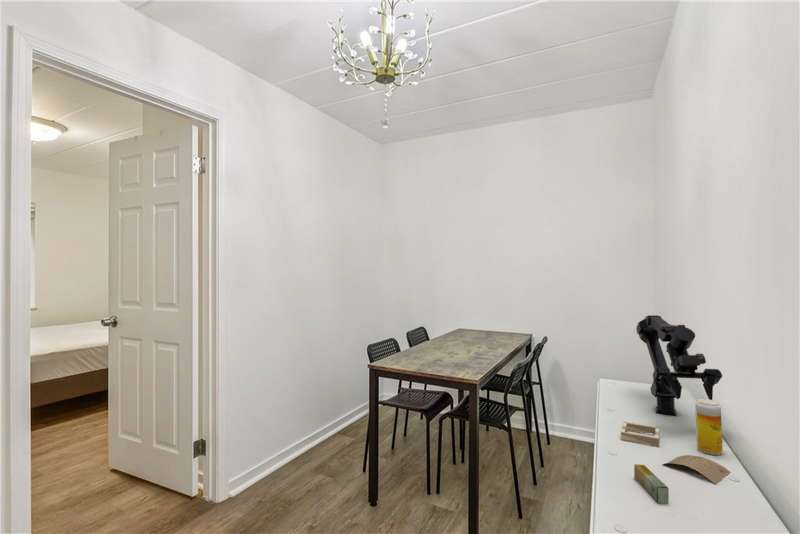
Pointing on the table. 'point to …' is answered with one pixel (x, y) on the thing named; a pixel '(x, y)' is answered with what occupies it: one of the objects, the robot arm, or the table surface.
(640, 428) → the tray
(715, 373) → the robot arm
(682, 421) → the table surface
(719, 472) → the curved brown cardboard
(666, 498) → the medication box
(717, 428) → the beer can
